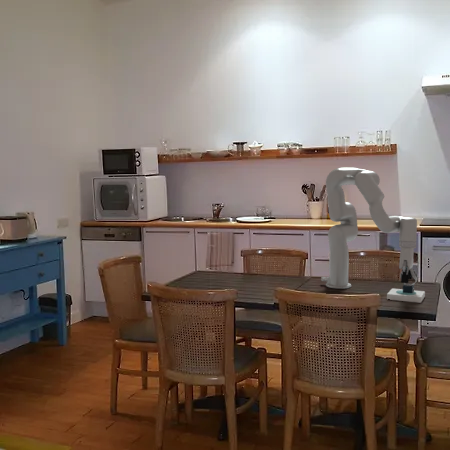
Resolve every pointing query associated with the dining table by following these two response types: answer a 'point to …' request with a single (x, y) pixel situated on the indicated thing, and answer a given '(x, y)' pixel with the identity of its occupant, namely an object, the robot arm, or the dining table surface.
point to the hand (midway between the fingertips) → (406, 280)
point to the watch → (409, 287)
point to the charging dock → (406, 295)
